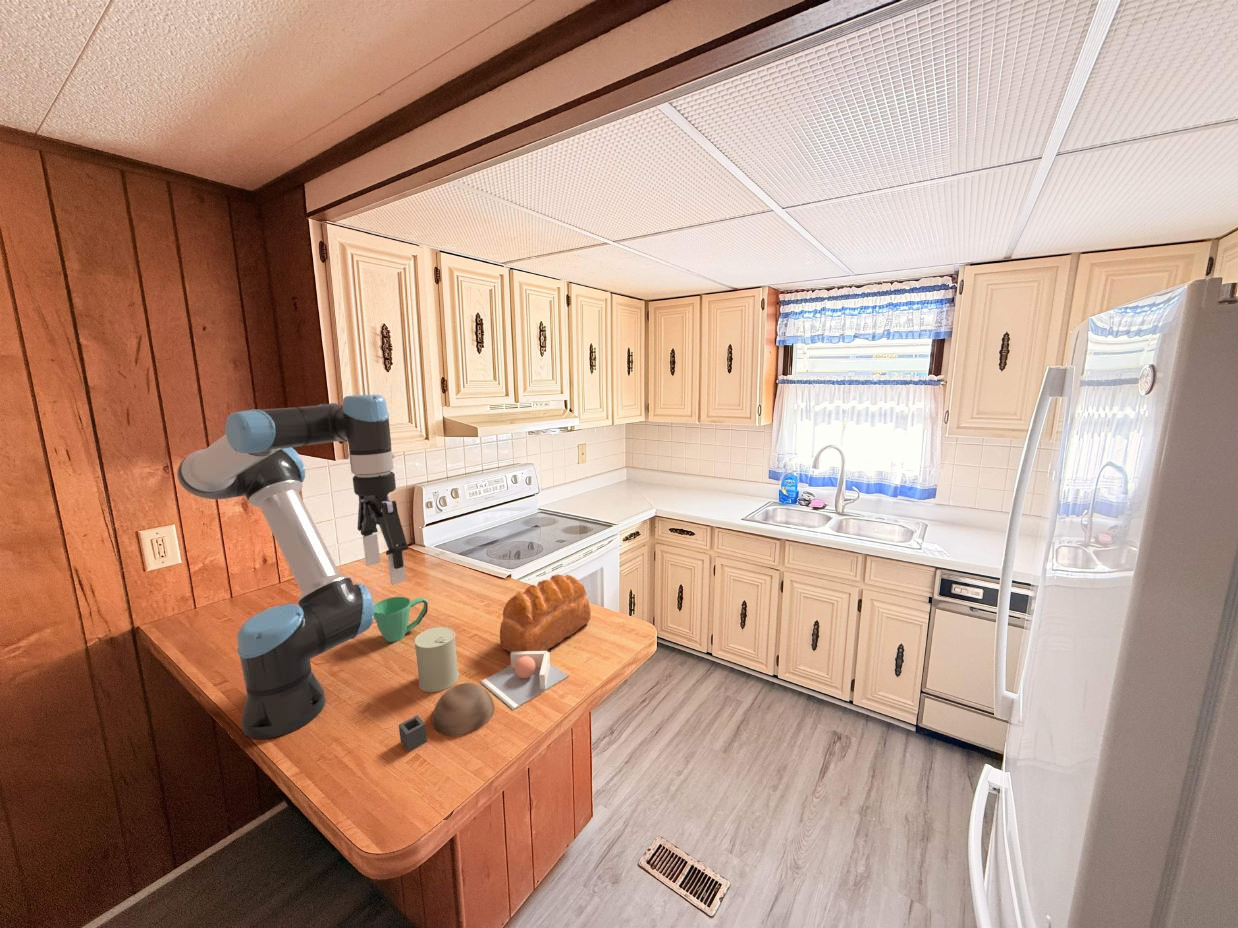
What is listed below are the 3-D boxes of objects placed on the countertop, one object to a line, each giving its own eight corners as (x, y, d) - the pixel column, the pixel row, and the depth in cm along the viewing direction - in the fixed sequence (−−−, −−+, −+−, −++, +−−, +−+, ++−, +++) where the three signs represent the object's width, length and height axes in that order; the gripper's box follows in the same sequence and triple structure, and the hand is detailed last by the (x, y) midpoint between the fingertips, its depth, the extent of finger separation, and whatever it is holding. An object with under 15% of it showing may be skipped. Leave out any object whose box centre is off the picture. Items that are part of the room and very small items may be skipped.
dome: (453, 775, 98) (447, 719, 95) (424, 742, 106) (419, 690, 104) (507, 739, 107) (504, 688, 104) (477, 711, 116) (473, 663, 113)
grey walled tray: (513, 709, 106) (512, 693, 105) (480, 682, 116) (478, 667, 115) (568, 676, 117) (568, 661, 116) (534, 653, 127) (533, 639, 126)
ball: (521, 681, 113) (520, 659, 114) (511, 678, 117) (510, 656, 118) (539, 677, 116) (538, 655, 117) (529, 674, 120) (528, 653, 121)
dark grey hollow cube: (408, 751, 95) (406, 734, 94) (400, 741, 97) (398, 724, 97) (427, 741, 97) (425, 723, 97) (419, 731, 100) (417, 714, 99)
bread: (494, 647, 130) (490, 594, 127) (562, 608, 151) (560, 561, 148) (530, 664, 122) (526, 608, 119) (596, 621, 142) (594, 572, 139)
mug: (381, 651, 129) (376, 617, 127) (371, 636, 136) (367, 603, 134) (435, 632, 138) (432, 600, 136) (424, 618, 145) (421, 588, 144)
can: (435, 697, 111) (430, 650, 108) (410, 683, 115) (405, 638, 113) (467, 675, 118) (463, 631, 116) (442, 664, 123) (438, 621, 121)
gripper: (419, 478, 90) (429, 584, 94) (370, 462, 107) (381, 552, 111) (377, 486, 85) (390, 597, 89) (333, 467, 102) (345, 561, 106)
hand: (385, 572), depth 100 cm, fingers open, 13 cm apart
